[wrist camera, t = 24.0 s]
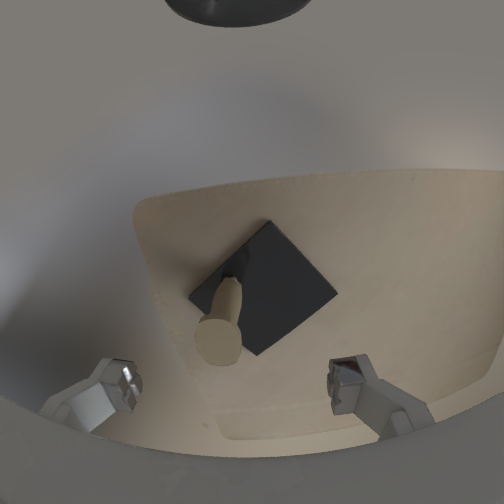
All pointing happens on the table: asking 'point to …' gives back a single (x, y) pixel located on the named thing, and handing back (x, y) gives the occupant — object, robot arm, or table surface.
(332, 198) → the table surface
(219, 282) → the dark grey square plate
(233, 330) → the handle
